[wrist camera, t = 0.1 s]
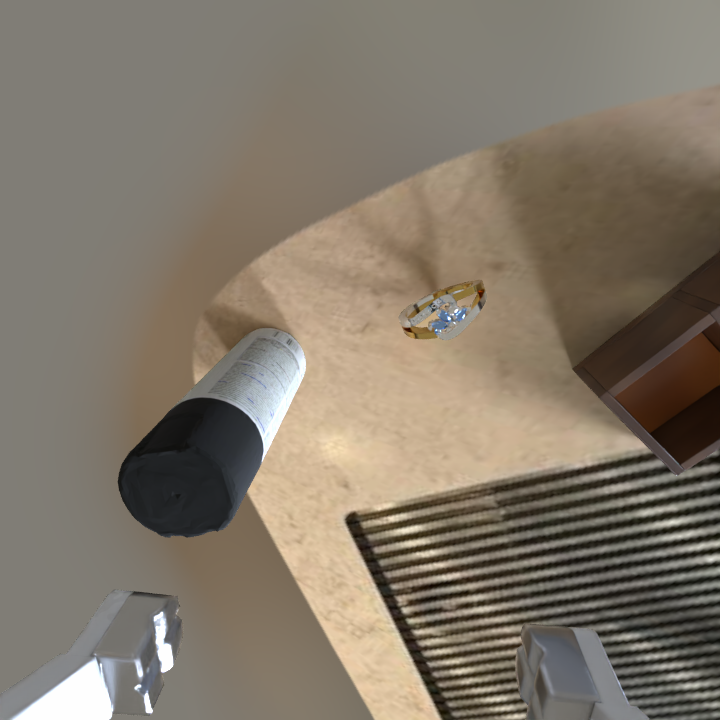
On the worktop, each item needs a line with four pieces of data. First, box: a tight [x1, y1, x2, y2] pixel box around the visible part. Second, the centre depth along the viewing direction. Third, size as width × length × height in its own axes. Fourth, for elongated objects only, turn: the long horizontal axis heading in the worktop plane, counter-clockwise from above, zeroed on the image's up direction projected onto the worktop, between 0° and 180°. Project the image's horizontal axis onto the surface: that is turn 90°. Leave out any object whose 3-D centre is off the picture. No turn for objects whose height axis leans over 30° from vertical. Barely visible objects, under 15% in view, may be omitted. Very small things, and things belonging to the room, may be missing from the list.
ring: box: [398, 280, 487, 340], centre depth 35 cm, size 7×3×8 cm, turn 112°
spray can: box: [118, 328, 306, 537], centre depth 33 cm, size 7×7×20 cm
